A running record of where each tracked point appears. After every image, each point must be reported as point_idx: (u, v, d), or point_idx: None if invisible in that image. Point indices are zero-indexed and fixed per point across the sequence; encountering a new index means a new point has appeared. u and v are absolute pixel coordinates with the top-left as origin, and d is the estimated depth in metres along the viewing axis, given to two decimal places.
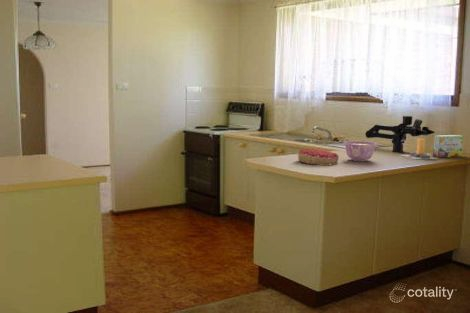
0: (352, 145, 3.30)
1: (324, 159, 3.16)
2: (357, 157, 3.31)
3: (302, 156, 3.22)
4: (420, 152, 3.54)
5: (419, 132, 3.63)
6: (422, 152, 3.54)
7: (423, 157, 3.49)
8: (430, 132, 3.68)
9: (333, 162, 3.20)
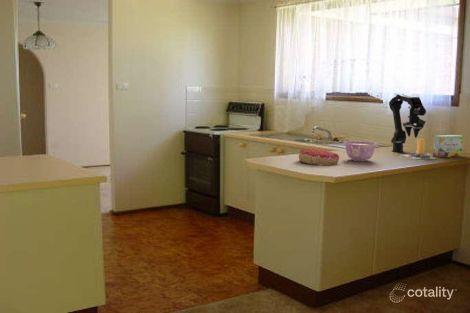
0: (352, 145, 3.30)
1: (325, 159, 3.15)
2: (357, 157, 3.31)
3: (303, 156, 3.21)
4: (420, 152, 3.54)
5: (416, 130, 3.59)
6: (422, 152, 3.54)
7: (423, 157, 3.49)
8: (408, 132, 3.70)
9: (334, 162, 3.19)
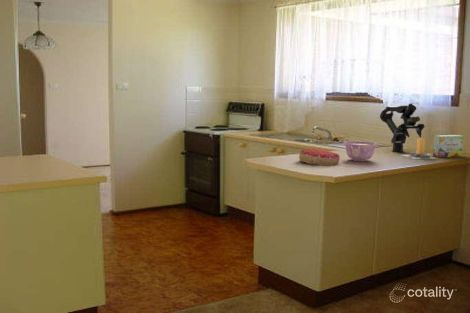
0: (352, 145, 3.30)
1: (325, 159, 3.15)
2: (357, 157, 3.31)
3: (303, 156, 3.21)
4: (420, 152, 3.54)
5: (404, 131, 3.64)
6: (422, 152, 3.54)
7: (423, 157, 3.49)
8: (419, 134, 3.65)
9: (334, 162, 3.19)
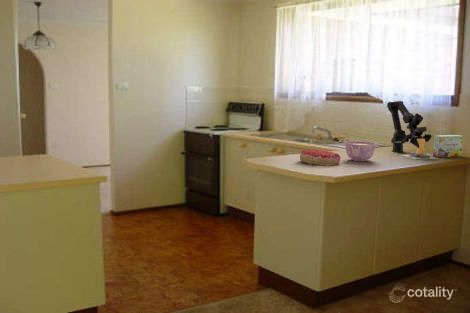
0: (352, 145, 3.30)
1: (326, 159, 3.15)
2: (357, 157, 3.31)
3: (304, 156, 3.20)
4: (420, 152, 3.54)
5: (414, 141, 3.56)
6: (422, 152, 3.54)
7: (423, 157, 3.49)
8: None
9: (335, 162, 3.18)
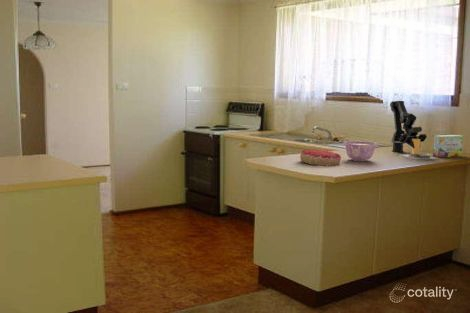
0: (352, 145, 3.30)
1: (327, 159, 3.14)
2: (357, 157, 3.31)
3: (304, 157, 3.20)
4: (415, 152, 3.53)
5: (409, 141, 3.55)
6: (417, 152, 3.53)
7: (423, 157, 3.49)
8: None
9: (336, 162, 3.18)
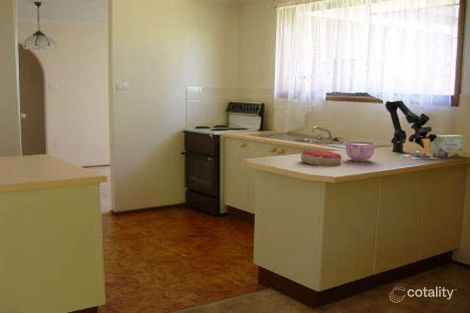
0: (352, 145, 3.30)
1: (328, 160, 3.14)
2: (357, 157, 3.31)
3: (305, 157, 3.19)
4: (425, 152, 3.55)
5: (419, 141, 3.57)
6: (427, 152, 3.55)
7: (423, 157, 3.49)
8: None
9: (336, 163, 3.17)
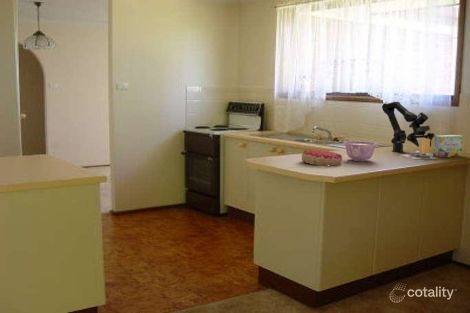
0: (352, 145, 3.30)
1: (328, 160, 3.13)
2: (357, 157, 3.31)
3: (306, 157, 3.19)
4: (425, 152, 3.55)
5: (414, 140, 3.59)
6: (427, 152, 3.55)
7: (423, 157, 3.49)
8: None
9: (337, 163, 3.17)
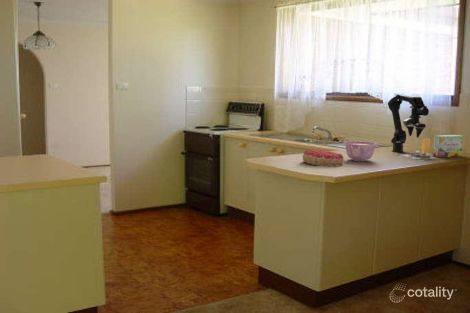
0: (352, 145, 3.30)
1: (330, 160, 3.12)
2: (357, 157, 3.31)
3: (307, 157, 3.18)
4: (425, 152, 3.55)
5: None
6: (427, 152, 3.55)
7: (423, 157, 3.49)
8: None
9: (338, 163, 3.16)
